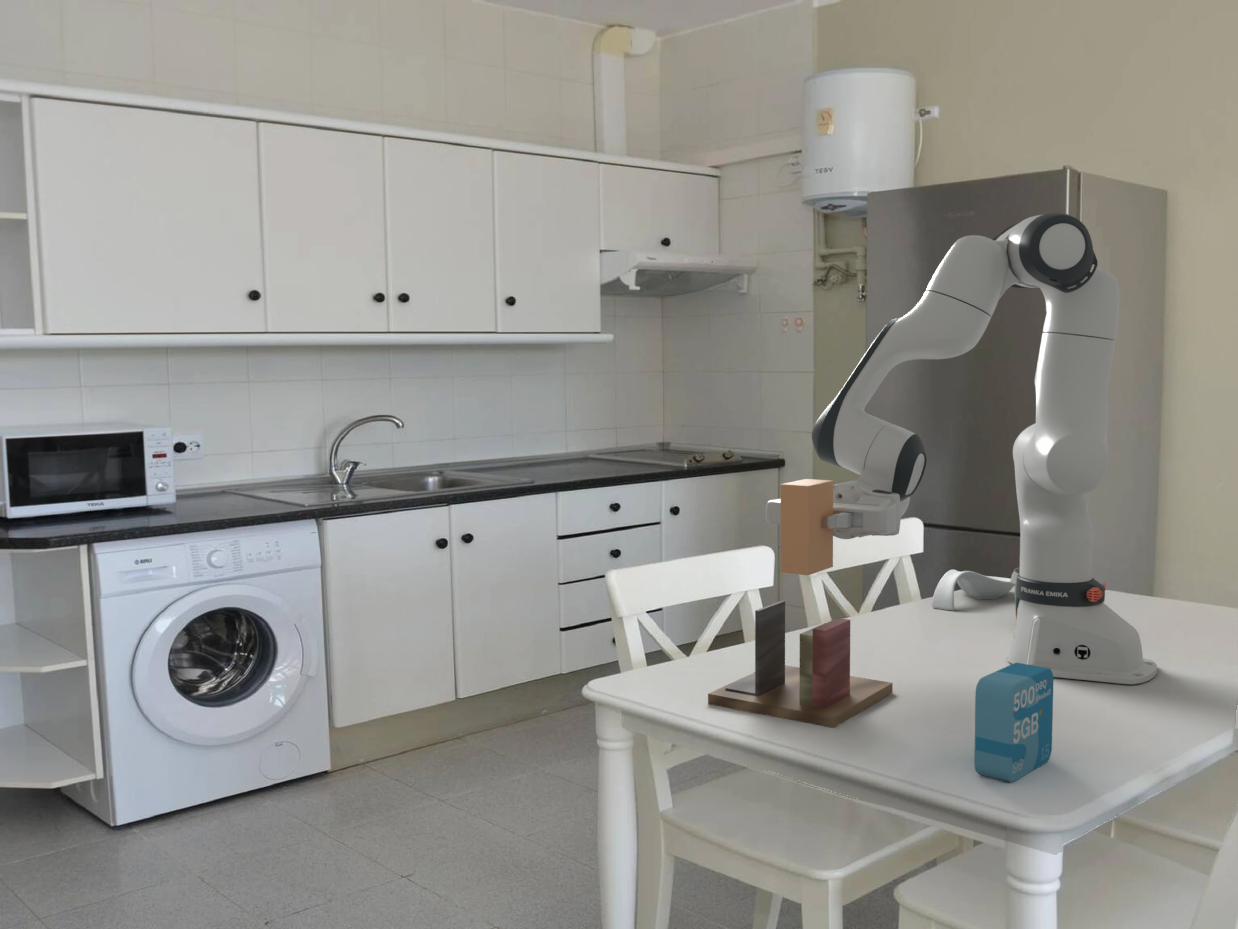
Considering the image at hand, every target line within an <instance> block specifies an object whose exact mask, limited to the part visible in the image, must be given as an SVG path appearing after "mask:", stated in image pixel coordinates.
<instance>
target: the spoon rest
mask: <svg viewBox="0 0 1238 929" xmlns="http://www.w3.org/2000/svg"><path fill="white" fill-rule="evenodd" d="M940 578H941V579H940V580H939V582H938V583H937V586H935V590H934V593H933V597H932V599H931V600H932V601H931V607H932V608H933V609H939V610H945V611H955V587H956V584H958V586H959V588H960V589H961V591H963V592H964V593H965V594H966V595H967V596H968V597H969V598H974V599H979V600H995V599H999V598H1000V597H1003V596H1005V595H1006V594H1008V593H1009V592H1010V591H1011V590H1012V589H1013V588H1014V584H1013V583H1011V578H1008V577H999V576H991V575H983V574H981V573H978V572H976V571H971V570H963V571H959V570H956V569H955V568H954V569H950V570H948V571H947V572H945V573H944V575H943V576H942V577H940Z"/></svg>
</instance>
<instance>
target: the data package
mask: <svg viewBox="0 0 1238 929" xmlns="http://www.w3.org/2000/svg"><path fill="white" fill-rule="evenodd" d="M974 695H975V702H974V703H975V704H974V706H975V708H974V709H975V710H974V755H973V756H974V762H973V763H974V764H973V765H974V770H975V772H976V774H978V775H981V776H985V777H989V778H993V779H997V780H1000V781H1005V782H1008V783H1014V782H1016V781H1017V780H1020V779H1021V778H1024V777H1025V776H1026V775H1027V774H1029V773H1031V772H1033V771H1034V770H1036V769H1038V768H1039V767H1041V766H1043V765H1044V764H1046V763H1047V762H1048V761H1049V759H1050V758H1051V755H1052V750H1053V717H1054V716H1053V714H1054V713H1053V712H1054V710H1053V707H1054V677H1053V673H1052V671H1051V669H1049V668H1044V667H1039V666H1033V665H1027V664H1022V663H1014V664H1012V663H1011V664H1008V665H1007V666H1005V667H1002V668H1001V669H998V670H996V671H994V672H992V673H989V674H987V675H985V676H981V678H980V679H979V680H978V682H977V684H976V687H975V694H974Z"/></svg>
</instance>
